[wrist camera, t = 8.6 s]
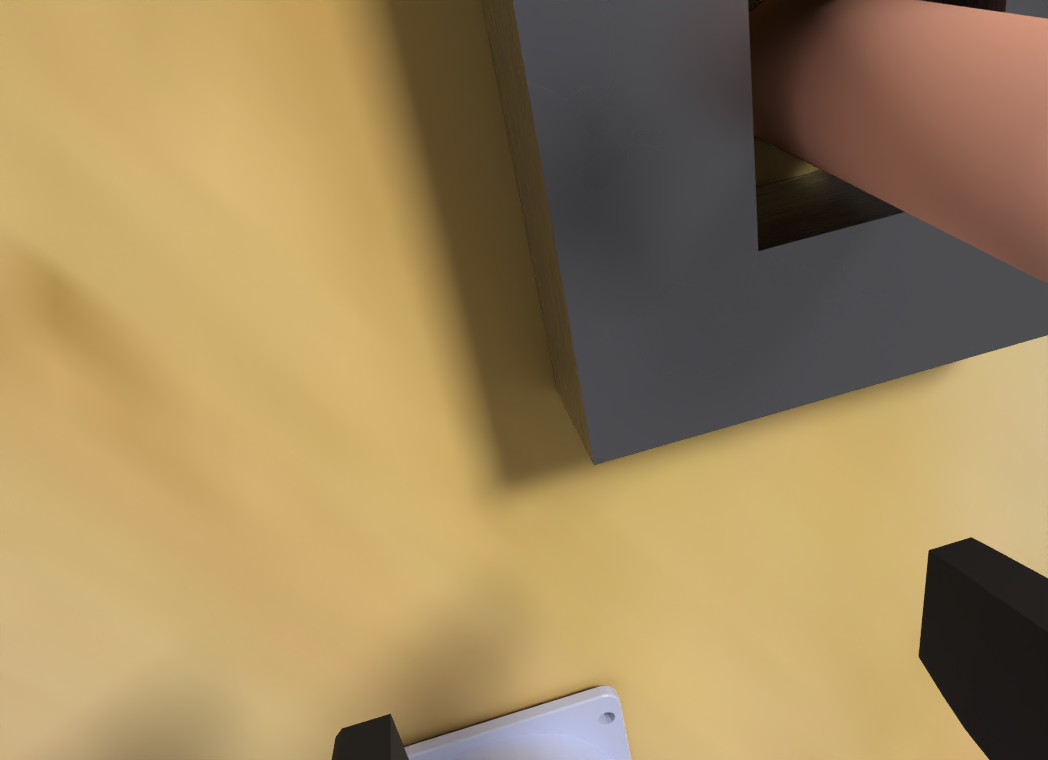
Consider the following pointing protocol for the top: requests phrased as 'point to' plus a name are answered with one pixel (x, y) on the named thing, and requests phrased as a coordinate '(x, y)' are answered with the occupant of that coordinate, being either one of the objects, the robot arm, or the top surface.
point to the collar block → (713, 233)
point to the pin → (915, 111)
